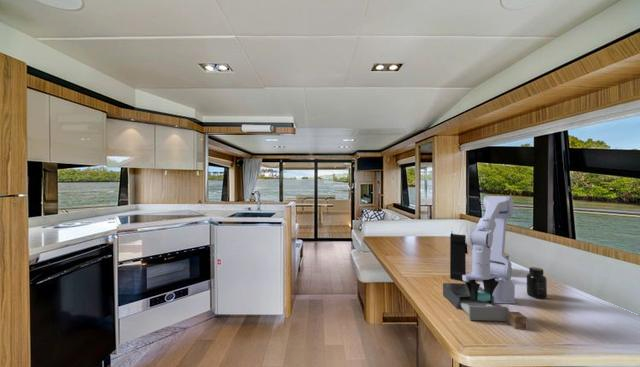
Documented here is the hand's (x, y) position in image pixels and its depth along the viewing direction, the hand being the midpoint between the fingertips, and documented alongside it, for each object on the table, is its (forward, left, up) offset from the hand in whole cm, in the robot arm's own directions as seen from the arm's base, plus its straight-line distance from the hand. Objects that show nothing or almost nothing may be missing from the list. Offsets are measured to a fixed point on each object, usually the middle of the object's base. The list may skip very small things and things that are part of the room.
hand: (480, 299), depth 98 cm
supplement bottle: (-34, -19, -6) cm, 39 cm away
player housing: (0, -10, -6) cm, 11 cm away
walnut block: (-8, +7, -6) cm, 12 cm away
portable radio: (-10, -39, -6) cm, 41 cm away
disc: (0, 0, 0) cm, 1 cm away
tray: (0, -2, -6) cm, 6 cm away
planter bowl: (-34, -52, -6) cm, 62 cm away
